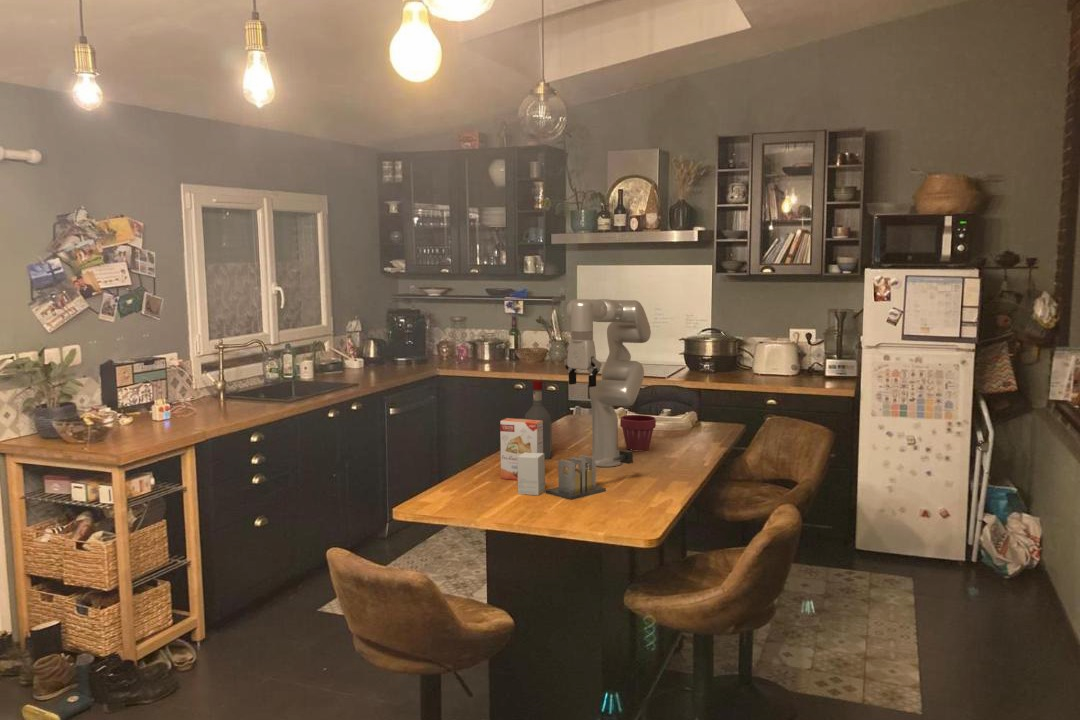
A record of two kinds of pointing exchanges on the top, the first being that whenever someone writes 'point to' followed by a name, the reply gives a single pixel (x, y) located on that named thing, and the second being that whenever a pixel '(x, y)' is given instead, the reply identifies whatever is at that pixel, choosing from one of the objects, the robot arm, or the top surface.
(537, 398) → the liquor
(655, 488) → the top surface
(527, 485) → the supplement box
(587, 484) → the spacer
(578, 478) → the spacer
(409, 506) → the top surface
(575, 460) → the frame
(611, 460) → the shaft
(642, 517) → the top surface
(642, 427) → the plant pot
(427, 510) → the top surface
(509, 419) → the cracker box
